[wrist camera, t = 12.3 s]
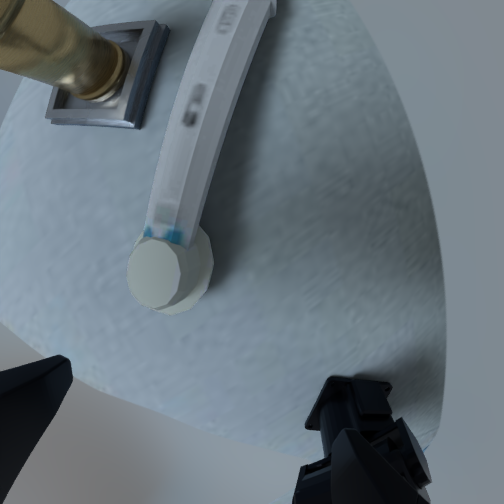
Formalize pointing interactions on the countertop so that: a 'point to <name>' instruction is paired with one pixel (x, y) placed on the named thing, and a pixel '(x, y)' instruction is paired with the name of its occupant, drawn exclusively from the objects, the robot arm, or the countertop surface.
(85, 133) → the countertop surface
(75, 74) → the brass domed cylinder
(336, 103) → the countertop surface
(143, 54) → the shallow square tray
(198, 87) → the white long piece
